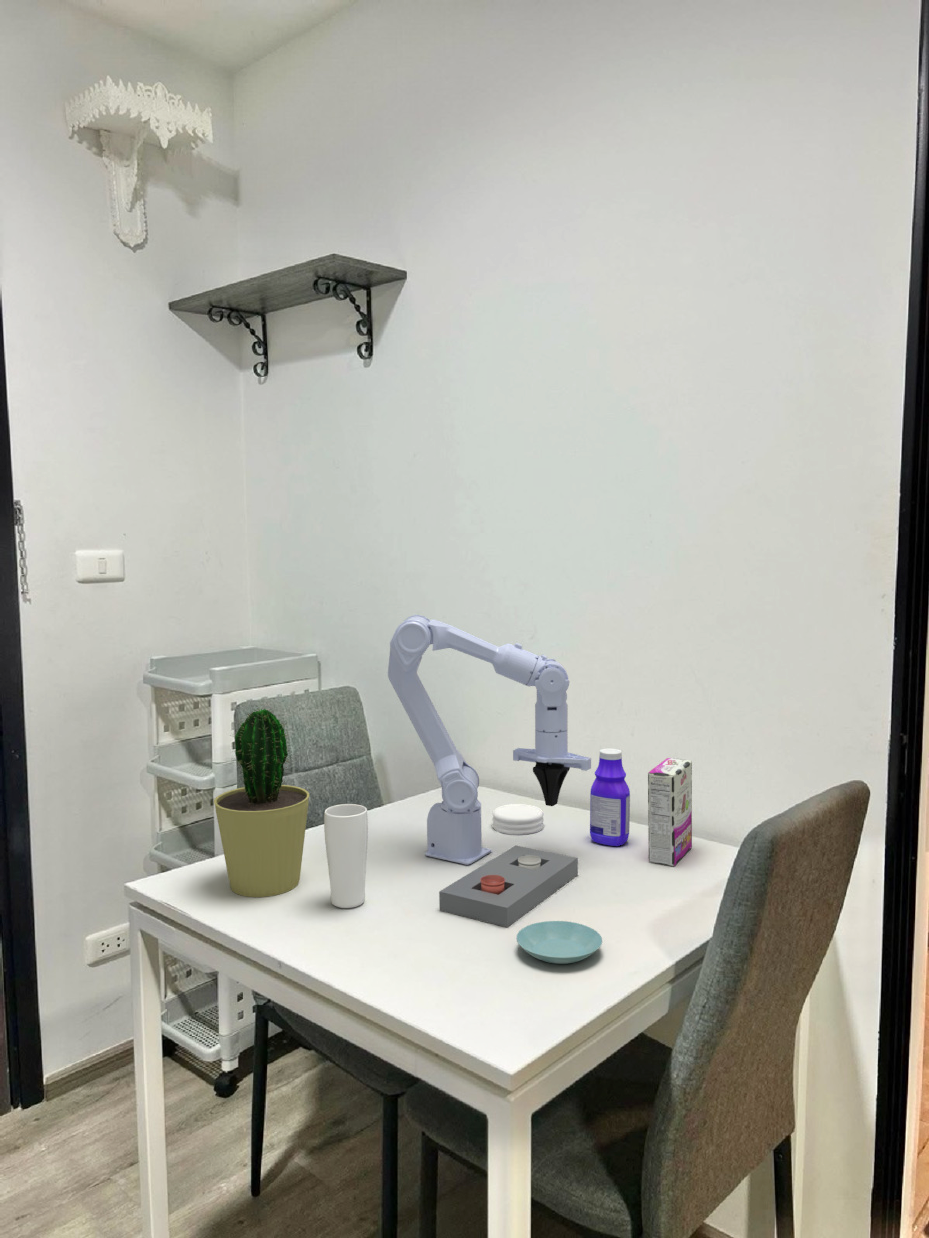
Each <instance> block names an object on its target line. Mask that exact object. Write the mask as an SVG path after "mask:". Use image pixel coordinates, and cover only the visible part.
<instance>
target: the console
mask: <svg viewBox="0 0 929 1238" xmlns="http://www.w3.org/2000/svg"><path fill="white" fill-rule="evenodd" d="M527 855H531V856H537V857H539V858H540V859H541V863H540V867H539V868H538V869H536V870H534V869H529V868H525V867H520V866H519V863H518V858H519V857H521V856H527ZM578 859H579V858H578V857H577V856H576V857H575V856H570V855H566V854H560V853H555V852H550V851H545V850H542V849H541V850H540V849H536V848H535V849H534V848H531V847H526V846H522V845H521V846H520V845H514V846H512V847H510V848H509V849H507V850H505V851H504V852H502V853H501V854H499V855H497V856H496V857H494V858H492V859H490V860H489V861H487V862H486V863H484V864H482V865H481V866H479V867H478V868H476V869H474V870H472V871H471V872H469V873H468V874H465V875H464V876H462V877H461V878H459V879H457V880H456V881H454V882H453V883H451V884H449V885H447V886H445V887H444V888H443V889H440V891H439V892H438V894H439V895H438V897H439V901H438V903H439V904H438V905H439V911H441V912H446V913H449V914H453V915H457V916H461V917H465V918H468V919H473V920H476V921H480V922H483V923H488V924H492V925H496V926H500V927H504V928H509V927H510V926H512V925H513V924H514V923H515V922H516V921H518V920H520V919H521V918H522V917H524V916H525V915H526V914H527V913H529V912H530V911H532V910H533V909H534V908H535V907H537V906H538V905H540V904H541V903H542V902H544V901H545V900H546V899H547V898H549V897H550V896H553V894H554V893H555V892H557V891H558V890H560V889H561V888H562V887H564V886H565V885H566V884H567V883H569V882H570V881H572V880H573V879H574V878H576V877H577V876H579V871H578V869H579V860H578ZM487 875H499V876H502V877H504V878H505V883H504V892H502V893H501V894H499V895H497V894H492V893H488V892H484V891H481V878H482V877H483V876H487Z"/></svg>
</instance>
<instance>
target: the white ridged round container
mask: <svg viewBox="0 0 929 1238" xmlns="http://www.w3.org/2000/svg"><path fill="white" fill-rule="evenodd" d="M491 820H492V828H493V829H494V830H495V831H496V832H498V833H501V834H505V835H511V836H512V835H513V836H525V835H533V834H536V833H538V832H540V831H541V830H543V828H544V811H543V810H542V809H541V808H540V807H538V806H536V805H533V804H524V803H510V804H504V805H500V806H497V807H496V808H494V809H493V811H492V819H491Z"/></svg>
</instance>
